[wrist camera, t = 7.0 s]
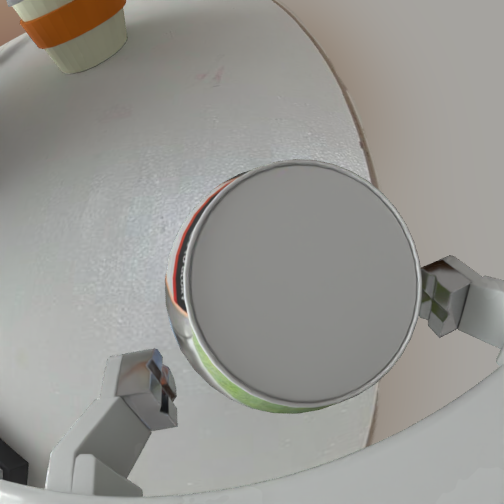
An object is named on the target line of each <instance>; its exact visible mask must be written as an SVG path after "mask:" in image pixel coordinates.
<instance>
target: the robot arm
mask: <svg viewBox="0 0 504 504" xmlns="http://www.w3.org/2000/svg"><path fill="white" fill-rule="evenodd" d="M421 276H422V297H421V305H420V310H419V316H420V318H423V319H426V320H428V326H429V327H430V328H431V329H432V330H433V331H434V332H435V333H436V335H437V336H438V337H439V338H440V337H442V336H444V335H446V334H448V333H450V332H452V331H454V330H456V329H458V330H460V331H462V332H464V333H467V334H469V335H471V336H473V337H475V338H477V339H480V340H482V341H484V342H486V343H489V344H491V345H493V346H495V347H498V348H500V349H501V350H500V353H499V355H498V357H497V360H496V362H497V364H498V365H499V366H500V367H499V368H498V369H497V370H495V371H494V372H493V373H491V374H490V375H489V376H488V377H486V378H485V379H484V380H482V381H481V382H480V383H478V384H477V385H475V386H474V387H473V388H471V389H470V390H468V391H467V392H465V393H464V394H463V395H461V396H460V397H458V398H457V399H455V400H454V401H452V402H451V403H449V404H447V405H446V406H444V407H443V408H441V409H439V410H438V411H436V412H434V413H433V414H431V415H429V416H428V417H426V418H424V419H422V420H421V421H419V422H417V423H415V424H413V425H412V426H410V427H408V428H406V429H404V430H402V431H400V432H398V433H396V434H394V435H392V436H390V437H388V438H386V439H384V440H382V441H379V442H377V443H375V444H373V445H371V446H368V447H366V448H364V449H361V450H359V451H357V452H354V453H352V454H349V455H347V456H344V457H341V458H339V459H336V460H333V461H331V462H328V463H325V464H322V465H319V466H316V467H313V468H310V469H307V470H304V471H300V472H297V473H294V474H290V475H287V476H283V477H279V478H275V479H271V480H267V481H263V482H259V483H254V484H250V485H245V486H240V487H234V488H229V489H223V490H216V491H209V492H202V493H193V494H183V495H170V496H150V497H143V491H142V489H141V488H140V487H138V486H137V485H135V484H134V483H132V482H131V481H129V480H127V477H128V475H129V473H130V472H131V470H132V468H133V466H134V464H135V462H136V460H137V459H138V457H139V455H140V453H141V451H142V449H143V448H144V446H145V444H146V442H147V440H148V438H149V436H150V435H151V431H155V430H161V429H167V428H173V427H178V423H177V408H176V406H175V405H174V403H173V401H174V399H175V398H176V396H177V395H176V385H175V381H174V378H173V375H172V373H171V371H170V369H169V367H167V366H165V365H163V364H162V358H163V357H162V355H161V354H160V352H159V351H158V349H155V348H154V349H148V350H143V351H137V352H132V353H126V354H122V355H116V356H110V357H109V358H108V359H107V363H106V367H105V372H104V377H103V381H102V386H101V391H100V397H99V399H95V400H94V401H93V402H92V403H91V404H90V406H89V407H88V408H87V409H86V410H85V412H84V413H83V414H82V415H81V416H80V417H79V419H78V420H77V421H76V422H75V423H74V425H73V426H72V427H71V428H70V429H69V430H68V432H67V433H66V434H65V435H64V436H63V438H62V439H61V440H60V441H59V442H58V444H57V445H56V446H55V447H54V448H53V450H52V451H51V454H50V459H49V465H48V471H47V477H46V484H45V489H41V488H36V487H31V486H27V485H22V484H18V483H14V482H10V481H6V480H2V479H0V504H504V280H501V279H496V278H492V277H488V276H484V277H482V276H480V275H479V274H478V273H476V272H475V271H474V270H472V269H471V268H470V267H468V266H467V265H466V264H464V263H463V262H461V261H460V260H459V259H457V258H456V257H454V256H451V255H449V256H447V257H445V258H443V259H440V260H439V261H436V262H434V263H431V264H429V265H427V266H424V267H422V268H421Z"/></svg>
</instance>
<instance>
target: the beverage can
mask: <svg viewBox="0 0 504 504" xmlns="http://www.w3.org/2000/svg"><path fill="white" fill-rule="evenodd" d="M165 293H166V307H167V311H168V316H169V320H170V325H171V328H172V331H173V333H174V335H175V338H176V340H177V342H178V345H179V347H180V349H181V351H182V352H183V354H184V355H185V357H186V358H187V360H188V361H189V363H190V364H191V366H192V367H193V368H194V370H195V371H196V372H197V373H198V374H199V375H200V376H201V377H202V378H203V379H204V380H205V381H206V382H207V383H208V384H209V385H210V386H212V387H213V388H215V389H216V390H218V391H219V392H221V393H222V394H223V395H225V396H226V397H228V398H230V399H231V400H234V401H236V402H238V403H241V404H243V405H245V406H248V407H250V408H253V409H258V410H262V411H267V412H272V413H303V412H309V411H315V410H320V409H323V408H326V407H328V406H331V405H334V404H337V403H339V402H342V401H345V400H347V399H350V398H352V397H355V396H357V395H358V394H360V393H362V392H363V391H365V390H367V389H368V388H370V387H371V386H373V385H374V384H375V383H377V382H378V381H379V380H380V379H381V378H382V377H383V376H384V375H385V374H387V373H388V372H389V371H390V369H391V368H392V367H393V366H394V364H395V363H396V362H397V361H398V359H399V358H400V357H401V355H402V354H403V352H404V350H405V348H406V346H407V344H408V343H409V341H410V339H411V337H412V334H413V331H414V329H415V326H416V323H417V320H418V316H419V310H420V305H421V297H422V276H421V268H420V261H419V257H418V254H417V250H416V247H415V243H414V240H413V238H412V236H411V233H410V232H409V229H408V227H407V225H406V223H405V221H404V220H403V218H402V217H401V215H400V214H399V212H398V211H397V209H396V208H395V207H394V205H393V204H392V203H391V202H390V201H389V200H388V199H387V198H386V196H385V195H384V194H383V193H382V192H381V191H379V190H378V189H377V188H376V187H375V186H373V185H372V184H371V183H370V182H368V181H367V180H365V179H364V178H362V177H360V176H359V175H357V174H355V173H353V172H352V171H349V170H347V169H344V168H342V167H339V166H337V165H334V164H330V163H326V162H321V161H316V160H300V159H293V160H285V161H278V162H273V163H270V164H267V165H264V166H260V167H257V168H255V169H253V170H250V171H247V172H244V173H241V174H238V175H237V176H235V177H233V178H231V179H229V180H227V181H226V182H224V183H222V184H220V185H219V186H217V187H216V188H215V189H214V190H212V191H211V192H210V193H209V194H208V195H206V196H205V197H204V198H203V199H202V200H201V201H200V202H199V203H198V204H197V206H196V207H195V208H194V209H193V210H192V211H191V213H190V214H189V215H188V216H187V218H186V220H185V221H184V223H183V225H182V227H181V228H180V230H179V232H178V234H177V235H176V238H175V241H174V244H173V247H172V250H171V252H170V255H169V259H168V265H167V272H166V278H165Z"/></svg>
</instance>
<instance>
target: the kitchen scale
mask: <svg viewBox="0 0 504 504" xmlns="http://www.w3.org/2000/svg"><path fill="white" fill-rule="evenodd" d="M27 474H28V462H26V461H25V460H24V459H23V458H22V457H20V456H19V455H18V454H17V453H16V452H15V451H14V450H12V449H11V448H10V447H9V446H8V445H7V444H6V443H5V442H4V441H3V440H2V439H1V438H0V479H2V480H6V481H10V482H14V483H18V484H22V485H27Z"/></svg>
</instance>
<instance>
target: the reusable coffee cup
mask: <svg viewBox="0 0 504 504" xmlns="http://www.w3.org/2000/svg"><path fill="white" fill-rule="evenodd" d="M7 3H8V6H13V8H14V9H15V10H16V12H17V13H18V15H19V16H20V17H21V20H20V24H21V25H22V27H23V28H24V29H25V30H26V32H27V33H28V35H29V36H30V37H31V39H32V40H33V41H34V42H35V44H36V45H37V46H38V47H39V48H41V49H45V51H46V52H47V53H48V54H49V56H50V57H51V58H52V60H53V61H54V62H55V63H56V65H57V66H58V67H59V69H60V70H61V71H62V72H63V73H66V74H73V73H78V72H82V71H84V70H87V69H90V68H92V67H94V66H96V65H98V64H100V63H102V62H103V61H105V60H107V59H108V58H110V57H111V56H112V55H114V54H115V53H116V52H117V51H119V50H120V49H121V48H122V47H123V45H124V44H125V42H126V41H127V32H126V25H125V18H124V11H123V7H124V5H125V3H126V0H7Z"/></svg>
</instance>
